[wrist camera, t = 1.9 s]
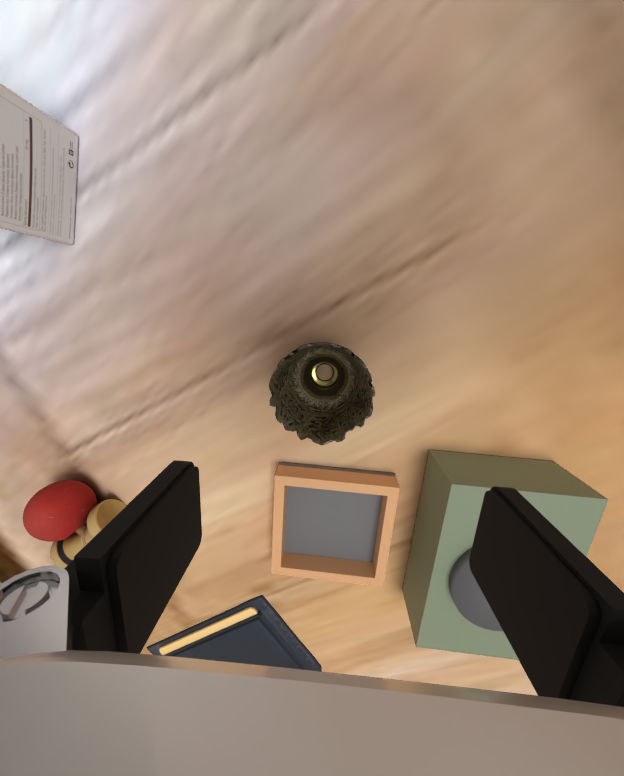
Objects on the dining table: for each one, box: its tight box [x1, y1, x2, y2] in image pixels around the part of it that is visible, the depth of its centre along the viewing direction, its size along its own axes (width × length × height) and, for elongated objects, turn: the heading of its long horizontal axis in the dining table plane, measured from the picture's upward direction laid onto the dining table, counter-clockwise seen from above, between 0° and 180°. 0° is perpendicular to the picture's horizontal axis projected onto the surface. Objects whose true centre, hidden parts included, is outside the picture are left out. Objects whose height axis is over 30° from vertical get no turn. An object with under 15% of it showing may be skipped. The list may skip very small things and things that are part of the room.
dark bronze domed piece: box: [269, 342, 375, 445], centre depth 24 cm, size 8×7×8 cm
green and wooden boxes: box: [271, 450, 608, 660], centre depth 29 cm, size 18×27×7 cm, turn 86°
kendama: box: [23, 480, 127, 568], centre depth 33 cm, size 8×6×18 cm
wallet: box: [147, 595, 321, 672], centre depth 39 cm, size 20×2×15 cm
